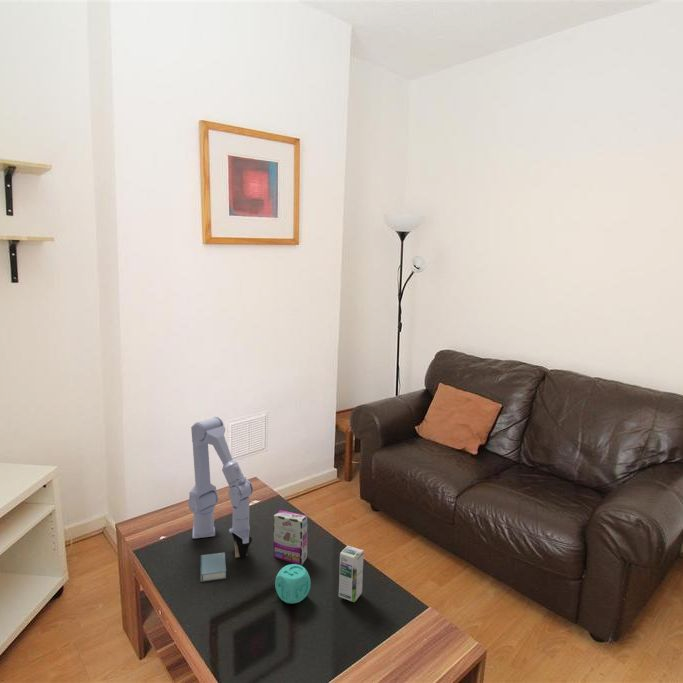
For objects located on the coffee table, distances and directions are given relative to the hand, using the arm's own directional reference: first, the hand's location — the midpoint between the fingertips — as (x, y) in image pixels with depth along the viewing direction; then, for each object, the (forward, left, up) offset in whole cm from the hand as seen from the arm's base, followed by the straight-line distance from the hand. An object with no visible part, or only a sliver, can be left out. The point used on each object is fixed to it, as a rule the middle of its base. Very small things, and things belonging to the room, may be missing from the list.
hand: (240, 552), depth 170 cm
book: (+6, -10, -2) cm, 11 cm away
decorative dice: (+25, +14, -2) cm, 29 cm away
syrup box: (+29, +32, -2) cm, 43 cm away
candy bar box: (+6, +16, -2) cm, 18 cm away
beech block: (0, 0, -2) cm, 2 cm away
